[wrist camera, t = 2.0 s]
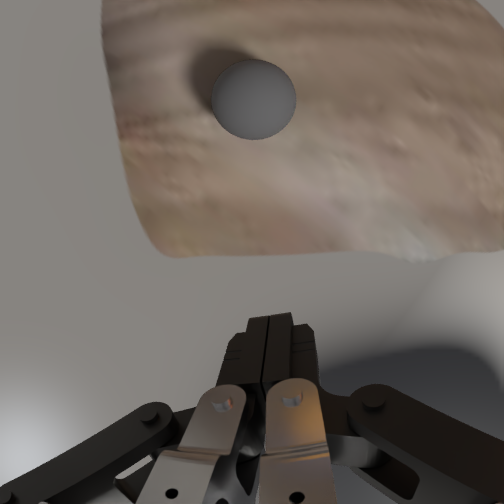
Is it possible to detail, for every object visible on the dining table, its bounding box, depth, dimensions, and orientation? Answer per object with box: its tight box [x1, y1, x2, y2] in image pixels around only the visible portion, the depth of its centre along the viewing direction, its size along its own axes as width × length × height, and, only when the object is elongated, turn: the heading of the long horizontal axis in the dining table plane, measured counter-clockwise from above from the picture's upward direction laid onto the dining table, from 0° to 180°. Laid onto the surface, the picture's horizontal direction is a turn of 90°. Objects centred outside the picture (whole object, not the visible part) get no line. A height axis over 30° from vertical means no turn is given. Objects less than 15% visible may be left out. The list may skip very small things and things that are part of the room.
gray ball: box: [211, 60, 296, 140], centre depth 21 cm, size 6×6×6 cm
